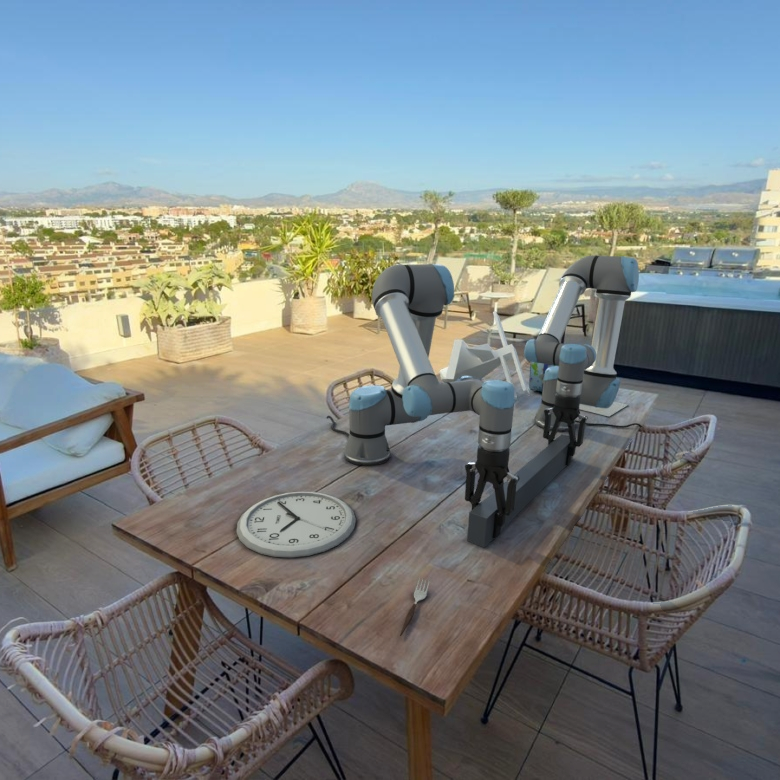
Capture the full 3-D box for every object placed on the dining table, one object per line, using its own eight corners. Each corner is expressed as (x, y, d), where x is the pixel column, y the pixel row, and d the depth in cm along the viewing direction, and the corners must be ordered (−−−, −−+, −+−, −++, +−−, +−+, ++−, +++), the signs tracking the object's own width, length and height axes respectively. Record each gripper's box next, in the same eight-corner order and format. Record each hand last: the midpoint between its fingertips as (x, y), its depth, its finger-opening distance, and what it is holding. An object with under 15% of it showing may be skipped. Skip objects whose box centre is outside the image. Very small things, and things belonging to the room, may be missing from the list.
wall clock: (357, 549, 121) (224, 553, 118) (357, 555, 121) (224, 559, 118) (354, 487, 149) (247, 489, 147) (354, 492, 150) (247, 495, 147)
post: (558, 455, 177) (561, 433, 174) (572, 459, 174) (575, 437, 172) (467, 540, 128) (469, 512, 125) (484, 547, 125) (486, 518, 123)
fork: (393, 636, 97) (393, 627, 97) (418, 584, 112) (419, 576, 111) (406, 640, 96) (407, 631, 96) (430, 587, 111) (430, 579, 110)
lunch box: (545, 397, 238) (550, 352, 231) (524, 391, 245) (529, 348, 239) (572, 386, 255) (578, 344, 249) (552, 381, 262) (557, 340, 256)
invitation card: (608, 416, 214) (573, 407, 224) (608, 416, 214) (573, 408, 224) (628, 404, 229) (594, 396, 238) (628, 405, 229) (594, 397, 238)
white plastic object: (461, 429, 252) (437, 405, 227) (444, 352, 274) (420, 323, 250) (535, 404, 240) (518, 377, 215) (510, 326, 262) (492, 293, 237)
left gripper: (453, 441, 126) (448, 526, 133) (522, 461, 116) (513, 551, 123) (468, 432, 132) (462, 514, 139) (535, 450, 121) (526, 537, 128)
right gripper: (536, 391, 166) (529, 458, 173) (593, 402, 156) (583, 473, 163) (545, 386, 172) (538, 451, 179) (600, 396, 162) (591, 465, 169)
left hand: (486, 531), depth 131 cm, fingers closed on post, 5 cm apart
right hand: (559, 461), depth 171 cm, fingers closed on post, 5 cm apart
